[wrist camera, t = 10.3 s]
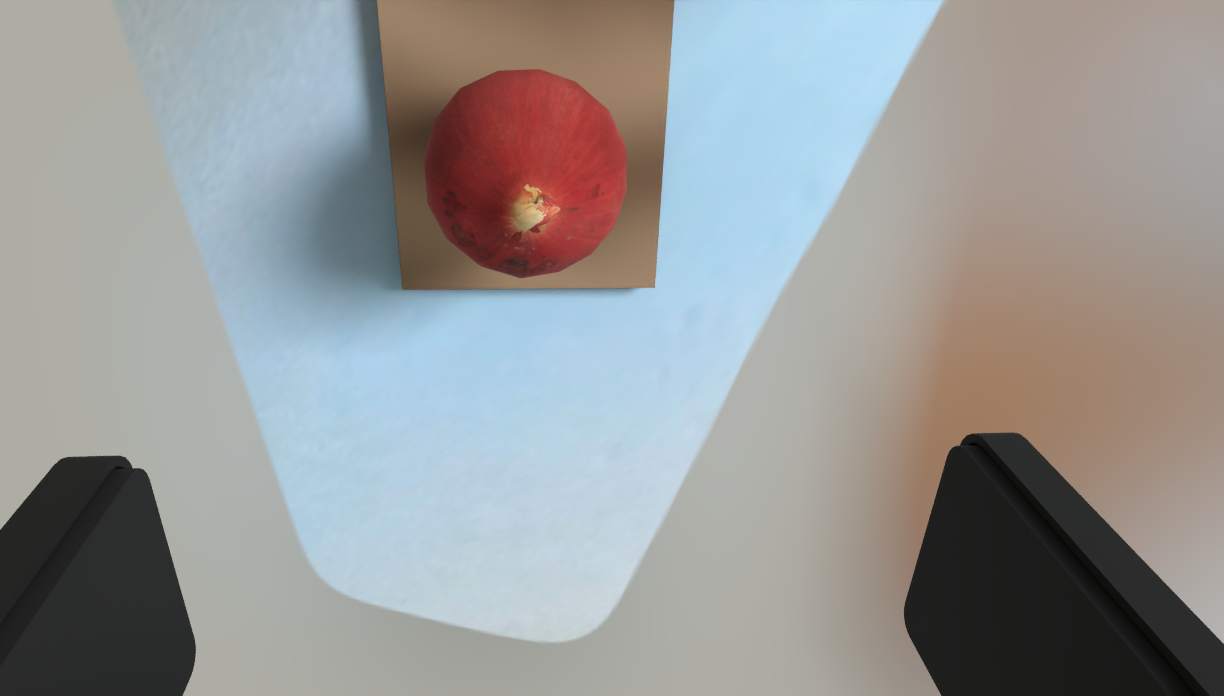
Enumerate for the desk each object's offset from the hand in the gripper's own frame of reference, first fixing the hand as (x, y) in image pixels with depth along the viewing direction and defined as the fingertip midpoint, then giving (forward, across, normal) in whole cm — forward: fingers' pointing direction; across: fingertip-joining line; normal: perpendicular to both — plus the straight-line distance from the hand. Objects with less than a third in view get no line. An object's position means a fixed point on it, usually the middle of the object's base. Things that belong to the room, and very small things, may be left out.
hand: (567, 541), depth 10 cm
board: (+20, 0, 0) cm, 20 cm away
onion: (+20, 0, 0) cm, 20 cm away
